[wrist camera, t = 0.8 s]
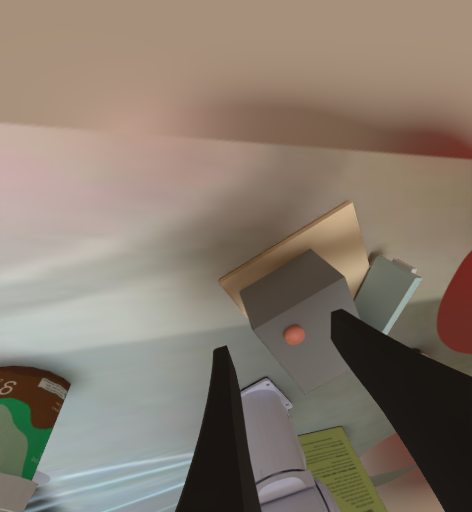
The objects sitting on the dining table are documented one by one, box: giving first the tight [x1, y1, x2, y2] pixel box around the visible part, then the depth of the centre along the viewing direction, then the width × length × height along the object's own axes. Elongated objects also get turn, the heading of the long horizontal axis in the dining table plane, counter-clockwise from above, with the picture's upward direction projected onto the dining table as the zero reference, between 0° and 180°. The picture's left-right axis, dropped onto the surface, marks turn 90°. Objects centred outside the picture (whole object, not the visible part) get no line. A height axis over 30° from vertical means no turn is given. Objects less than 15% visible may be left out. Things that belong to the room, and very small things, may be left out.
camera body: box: [239, 249, 360, 394], centre depth 21 cm, size 13×8×6 cm, turn 30°
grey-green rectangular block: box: [354, 256, 422, 335], centre depth 22 cm, size 9×2×4 cm, turn 170°
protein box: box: [298, 426, 388, 512], centre depth 34 cm, size 10×15×16 cm
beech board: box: [219, 201, 370, 320], centre depth 24 cm, size 19×14×1 cm
